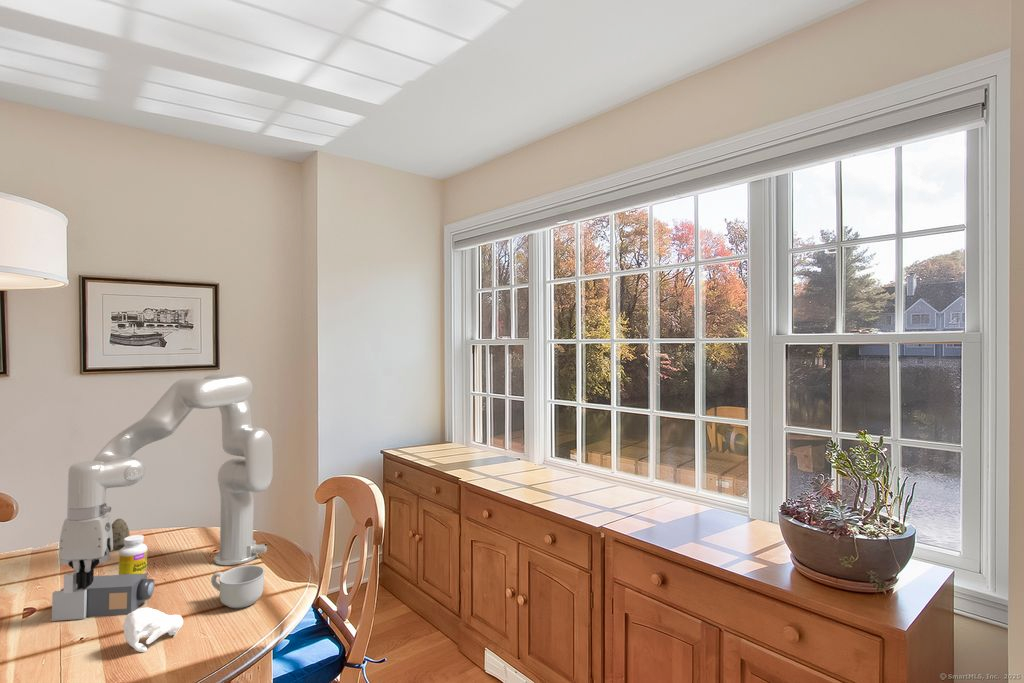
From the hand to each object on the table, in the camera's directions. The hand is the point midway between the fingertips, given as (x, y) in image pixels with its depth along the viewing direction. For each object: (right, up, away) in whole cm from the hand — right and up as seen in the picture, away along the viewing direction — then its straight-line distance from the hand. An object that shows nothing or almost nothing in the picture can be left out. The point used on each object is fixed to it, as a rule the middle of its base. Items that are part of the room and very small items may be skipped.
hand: (84, 586), depth 134 cm
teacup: (+33, -9, +10) cm, 35 cm away
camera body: (+2, -8, +5) cm, 10 cm away
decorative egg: (-25, -9, +46) cm, 53 cm away
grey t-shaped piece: (-3, -8, -1) cm, 8 cm away
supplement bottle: (-3, -9, +21) cm, 22 cm away
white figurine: (+24, -8, -10) cm, 27 cm away
